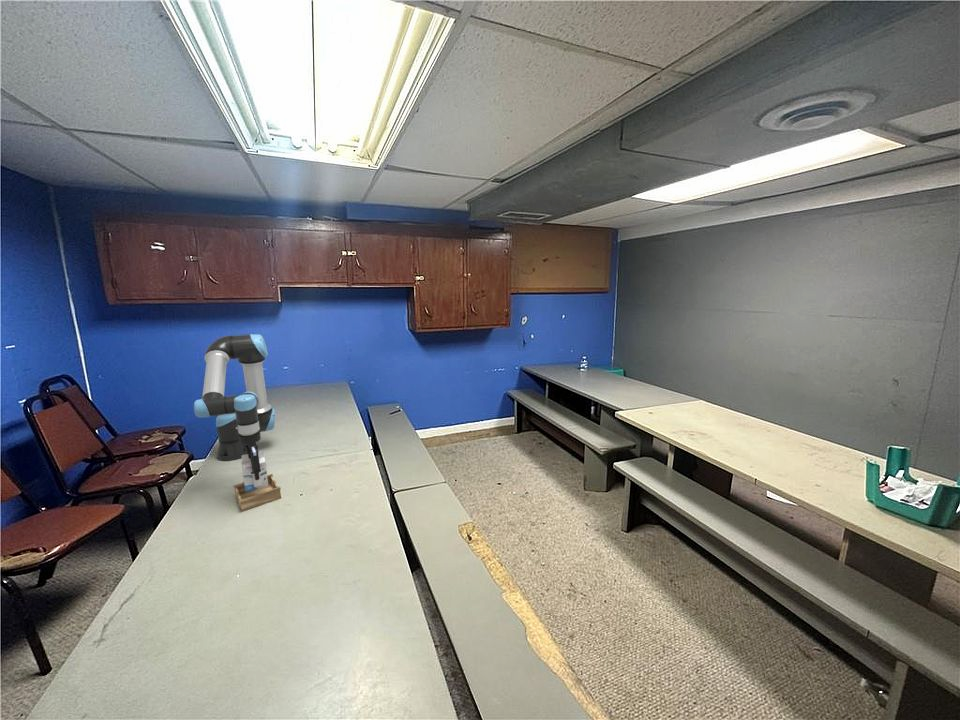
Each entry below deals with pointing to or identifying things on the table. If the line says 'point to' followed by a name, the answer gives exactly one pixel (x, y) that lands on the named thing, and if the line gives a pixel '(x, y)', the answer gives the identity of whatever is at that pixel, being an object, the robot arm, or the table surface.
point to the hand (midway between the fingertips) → (256, 482)
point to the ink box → (248, 469)
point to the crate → (257, 494)
